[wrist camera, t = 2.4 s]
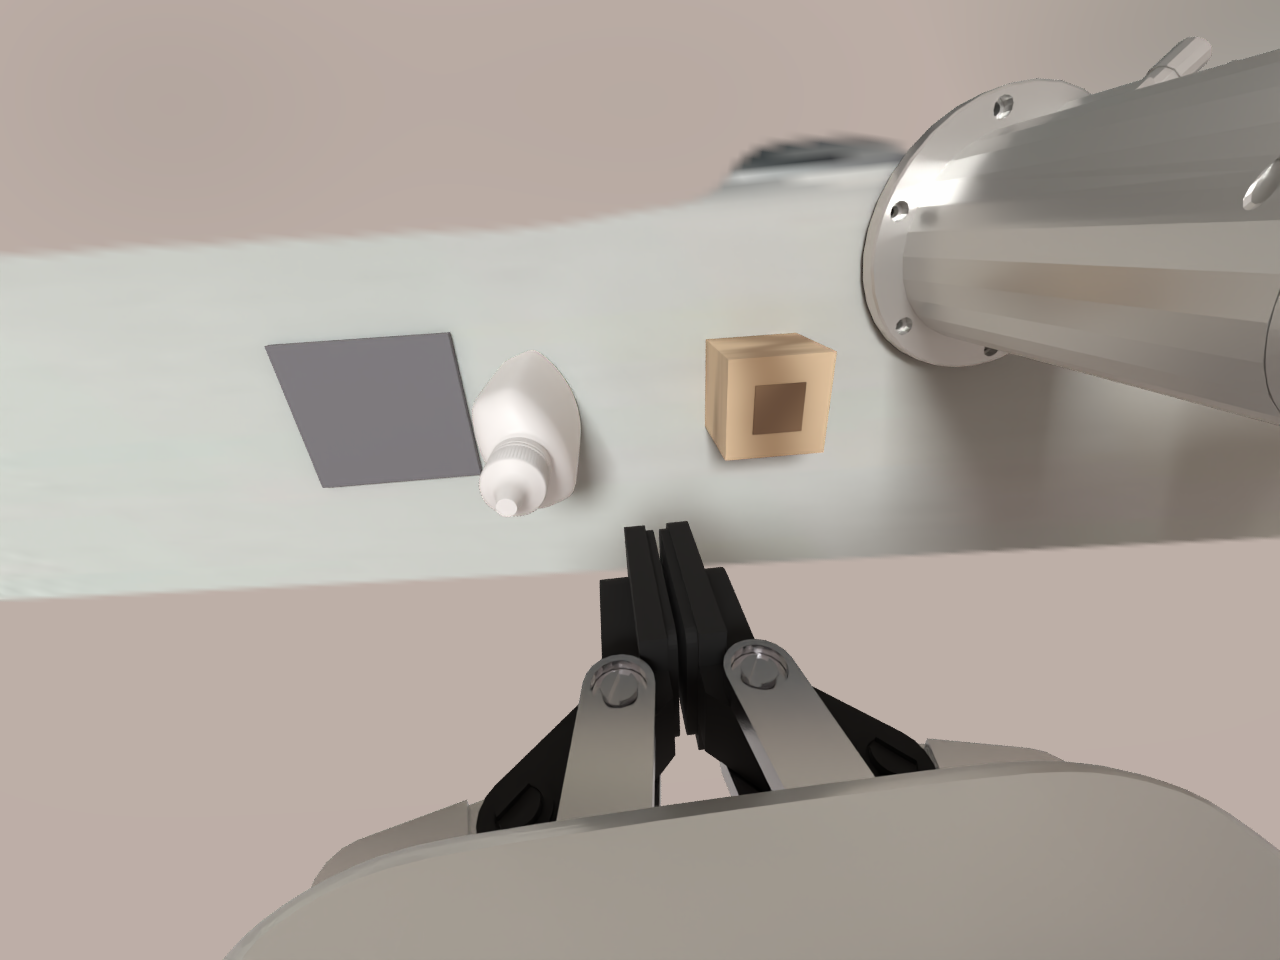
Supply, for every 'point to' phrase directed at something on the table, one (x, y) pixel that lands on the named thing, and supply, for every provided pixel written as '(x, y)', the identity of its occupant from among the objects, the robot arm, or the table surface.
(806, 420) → the oak cube
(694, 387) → the table surface
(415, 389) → the mat
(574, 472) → the eye dropper bottle
